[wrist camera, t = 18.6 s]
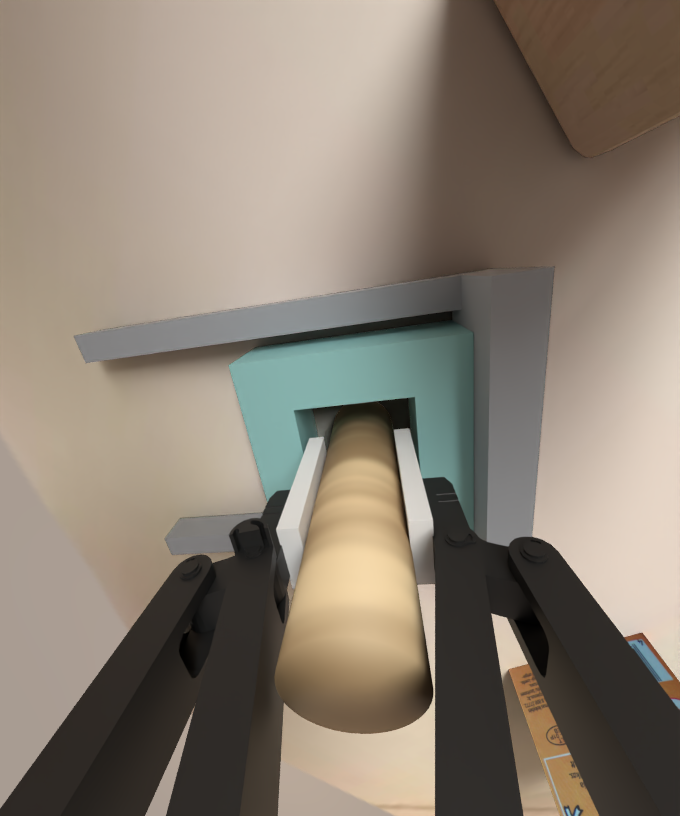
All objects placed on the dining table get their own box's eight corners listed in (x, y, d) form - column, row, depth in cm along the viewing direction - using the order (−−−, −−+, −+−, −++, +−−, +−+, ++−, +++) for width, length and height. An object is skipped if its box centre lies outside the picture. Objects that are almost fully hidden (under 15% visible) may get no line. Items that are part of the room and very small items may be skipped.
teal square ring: (255, 347, 19) (228, 365, 15) (451, 319, 18) (473, 332, 14) (294, 501, 23) (279, 545, 19) (455, 489, 22) (473, 534, 18)
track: (101, 329, 19) (-6, 352, 14) (491, 268, 16) (554, 266, 11) (186, 534, 25) (134, 608, 19) (487, 515, 22) (526, 596, 17)
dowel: (330, 402, 20) (258, 637, 7) (389, 395, 19) (430, 636, 7) (338, 453, 21) (291, 731, 8) (394, 448, 21) (436, 735, 8)
